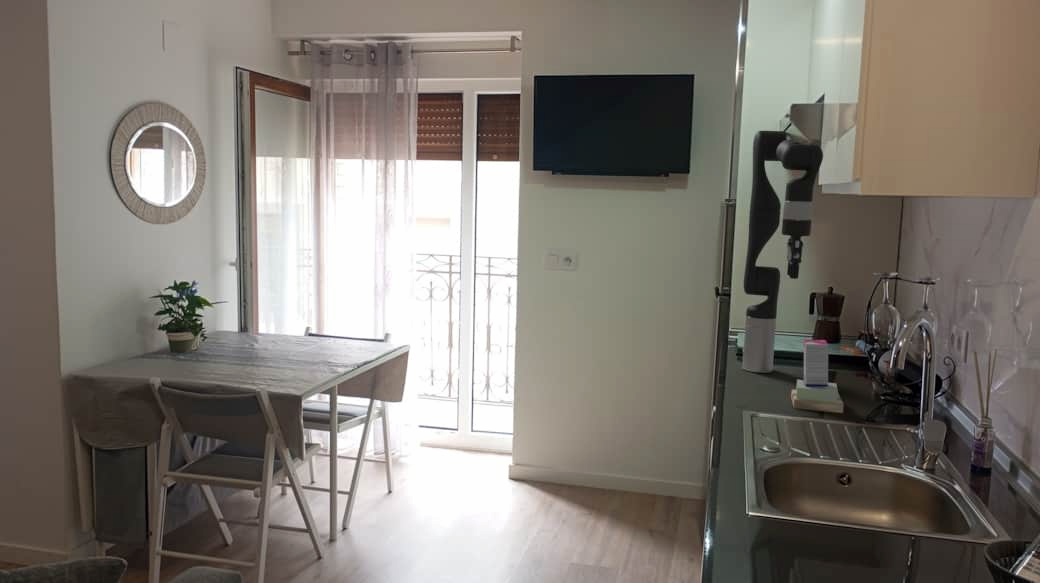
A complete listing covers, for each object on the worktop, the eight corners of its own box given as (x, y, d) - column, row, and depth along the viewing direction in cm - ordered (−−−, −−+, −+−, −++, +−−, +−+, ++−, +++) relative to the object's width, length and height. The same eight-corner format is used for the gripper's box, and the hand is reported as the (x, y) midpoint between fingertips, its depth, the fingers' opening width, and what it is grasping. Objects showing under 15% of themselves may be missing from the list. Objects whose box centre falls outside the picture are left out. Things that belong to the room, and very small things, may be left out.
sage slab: (796, 390, 214) (797, 379, 214) (835, 394, 211) (836, 383, 211) (796, 398, 205) (797, 387, 205) (837, 403, 202) (838, 391, 201)
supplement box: (829, 386, 204) (828, 344, 203) (805, 386, 206) (804, 344, 204) (826, 380, 210) (826, 339, 208) (803, 380, 212) (802, 339, 210)
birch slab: (790, 399, 216) (791, 388, 215) (837, 404, 213) (838, 393, 212) (793, 410, 204) (794, 399, 204) (842, 415, 201) (843, 404, 201)
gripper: (781, 217, 221) (776, 274, 223) (784, 218, 207) (779, 278, 209) (809, 218, 219) (804, 275, 221) (814, 219, 205) (809, 280, 207)
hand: (792, 277), depth 215 cm, fingers open, 8 cm apart
